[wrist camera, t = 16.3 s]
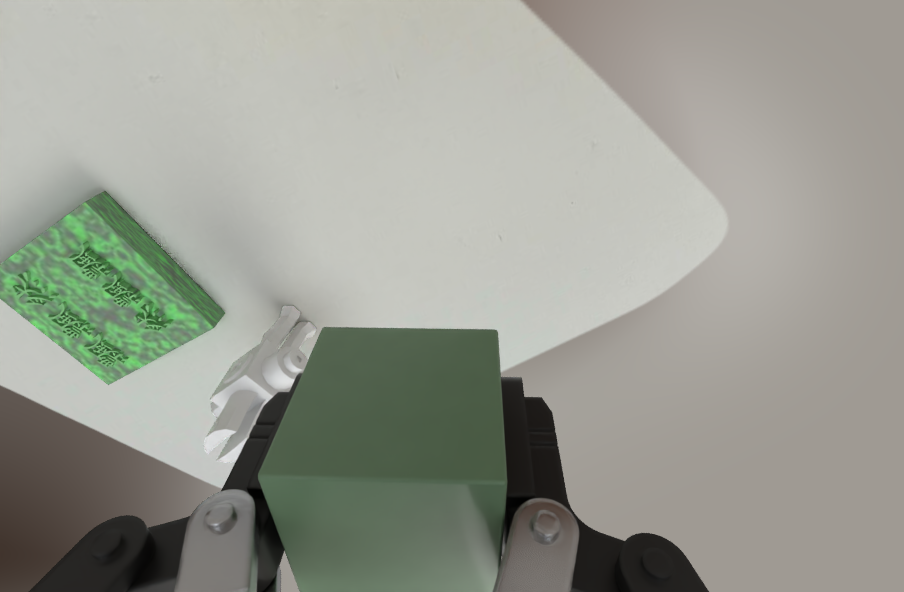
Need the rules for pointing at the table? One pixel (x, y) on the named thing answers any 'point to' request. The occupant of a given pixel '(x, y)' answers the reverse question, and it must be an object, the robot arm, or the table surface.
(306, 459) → the block
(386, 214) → the table surface
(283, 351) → the toy robot
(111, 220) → the green jade tablet
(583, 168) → the table surface
